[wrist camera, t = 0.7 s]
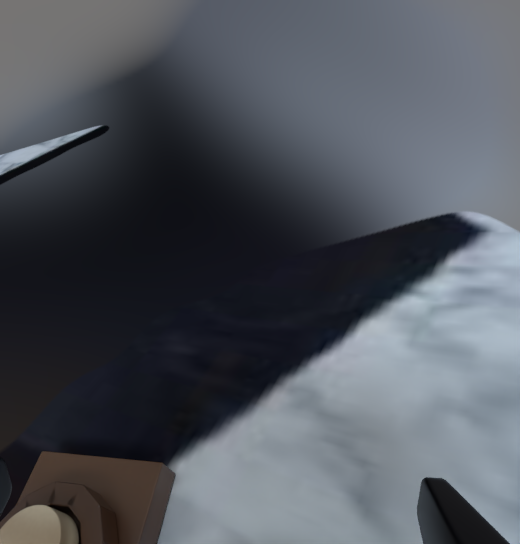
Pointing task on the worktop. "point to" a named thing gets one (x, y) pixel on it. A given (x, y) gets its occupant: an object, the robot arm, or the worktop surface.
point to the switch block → (101, 495)
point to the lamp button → (39, 527)
